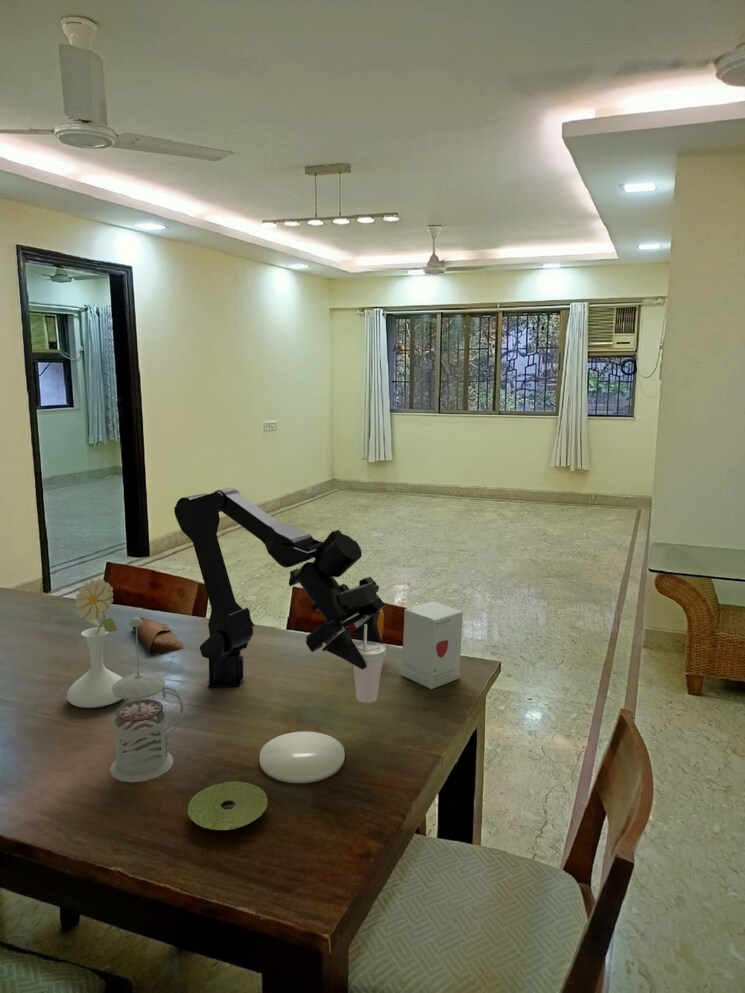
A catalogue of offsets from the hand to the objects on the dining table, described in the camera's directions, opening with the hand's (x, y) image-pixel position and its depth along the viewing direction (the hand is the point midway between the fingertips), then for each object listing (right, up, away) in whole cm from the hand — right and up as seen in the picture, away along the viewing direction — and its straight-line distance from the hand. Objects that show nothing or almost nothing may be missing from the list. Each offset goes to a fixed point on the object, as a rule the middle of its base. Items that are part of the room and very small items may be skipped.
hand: (374, 661), depth 123 cm
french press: (-37, -14, -11) cm, 41 cm away
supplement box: (+12, -9, +23) cm, 28 cm away
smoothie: (-1, -7, +2) cm, 8 cm away
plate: (-12, -14, -8) cm, 20 cm away
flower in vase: (-53, -10, +10) cm, 55 cm away
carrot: (0, -7, +34) cm, 35 cm away
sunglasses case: (-51, -5, +41) cm, 66 cm away
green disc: (-21, -17, -24) cm, 36 cm away
